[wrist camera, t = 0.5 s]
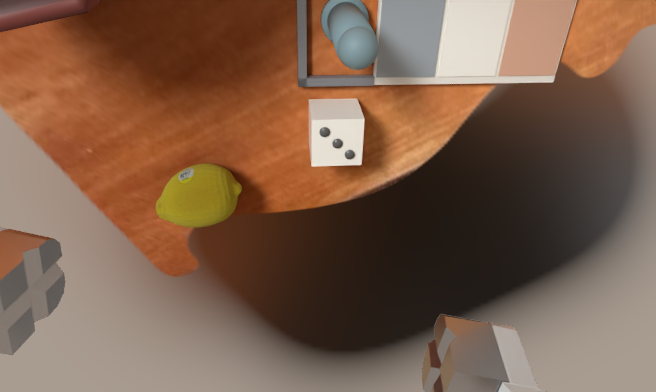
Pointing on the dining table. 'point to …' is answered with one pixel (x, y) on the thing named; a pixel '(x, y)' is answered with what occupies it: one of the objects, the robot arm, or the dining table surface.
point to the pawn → (350, 32)
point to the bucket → (39, 11)
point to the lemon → (199, 196)
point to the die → (335, 132)
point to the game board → (456, 42)
